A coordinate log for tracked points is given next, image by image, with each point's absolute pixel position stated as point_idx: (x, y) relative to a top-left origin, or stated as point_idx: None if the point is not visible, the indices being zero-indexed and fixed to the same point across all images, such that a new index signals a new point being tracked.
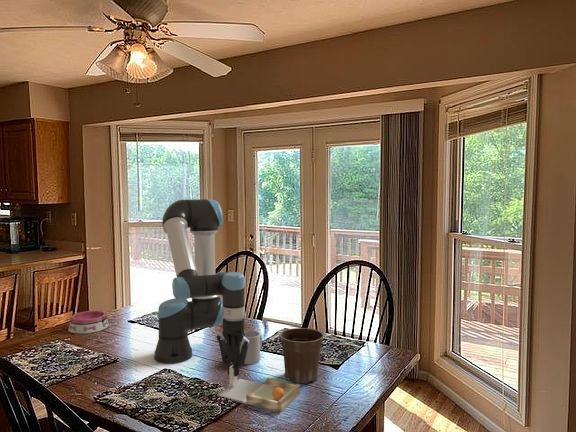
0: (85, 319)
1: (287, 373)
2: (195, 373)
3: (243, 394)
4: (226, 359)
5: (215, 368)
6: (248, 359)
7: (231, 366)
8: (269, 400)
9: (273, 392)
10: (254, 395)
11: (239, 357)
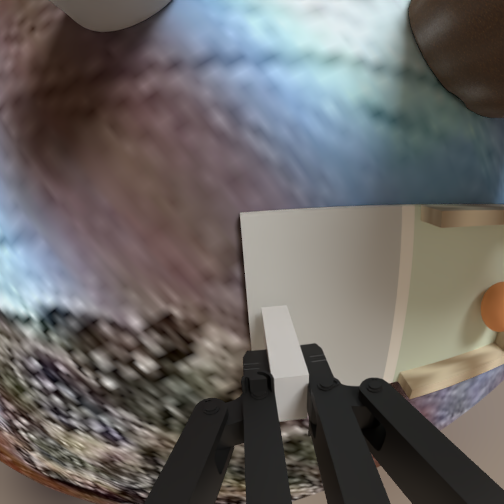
0: None
1: (477, 97)
2: (17, 276)
3: (362, 348)
4: (223, 440)
5: (34, 174)
6: (141, 4)
7: (281, 410)
8: (485, 370)
9: (496, 330)
10: (438, 382)
11: (389, 473)
